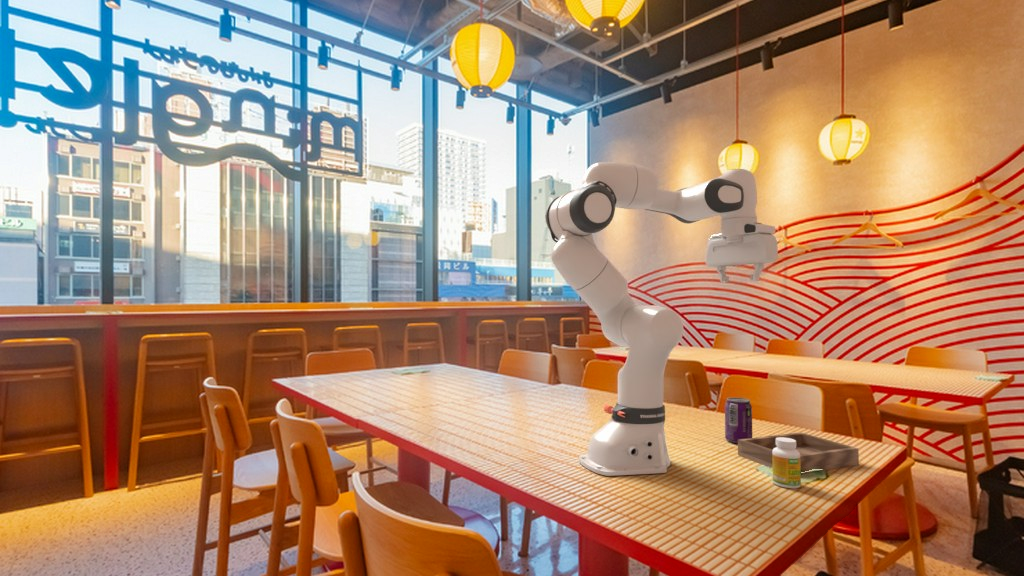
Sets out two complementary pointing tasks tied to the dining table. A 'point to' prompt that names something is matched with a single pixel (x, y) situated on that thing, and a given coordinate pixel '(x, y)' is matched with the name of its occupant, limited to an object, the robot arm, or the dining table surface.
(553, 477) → the dining table surface
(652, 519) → the dining table surface
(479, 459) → the dining table surface
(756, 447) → the serving tray
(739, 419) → the beverage can
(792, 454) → the supplement bottle
